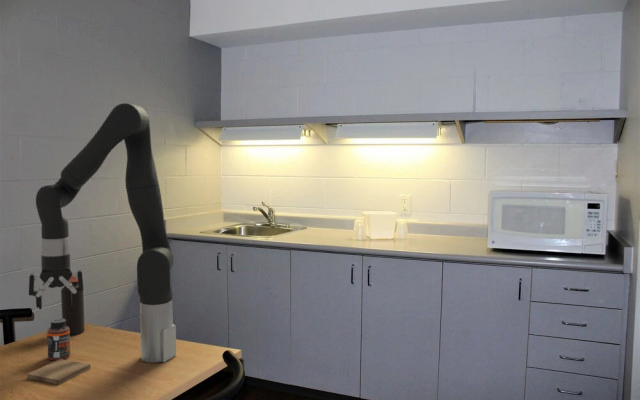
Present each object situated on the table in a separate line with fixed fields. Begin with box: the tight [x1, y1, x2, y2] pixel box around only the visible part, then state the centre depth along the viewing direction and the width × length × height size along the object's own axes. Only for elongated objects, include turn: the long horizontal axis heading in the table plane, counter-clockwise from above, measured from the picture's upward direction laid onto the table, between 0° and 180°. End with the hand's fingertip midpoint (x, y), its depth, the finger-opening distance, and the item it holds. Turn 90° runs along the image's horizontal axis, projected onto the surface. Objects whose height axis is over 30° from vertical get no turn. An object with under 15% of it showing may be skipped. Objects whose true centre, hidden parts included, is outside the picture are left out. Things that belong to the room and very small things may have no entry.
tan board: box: [27, 359, 91, 385], centre depth 143 cm, size 11×11×1 cm
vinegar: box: [60, 275, 85, 336], centre depth 175 cm, size 7×7×20 cm
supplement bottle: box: [46, 318, 71, 362], centre depth 154 cm, size 6×6×11 cm
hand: (57, 307), depth 153 cm, fingers open, 8 cm apart
